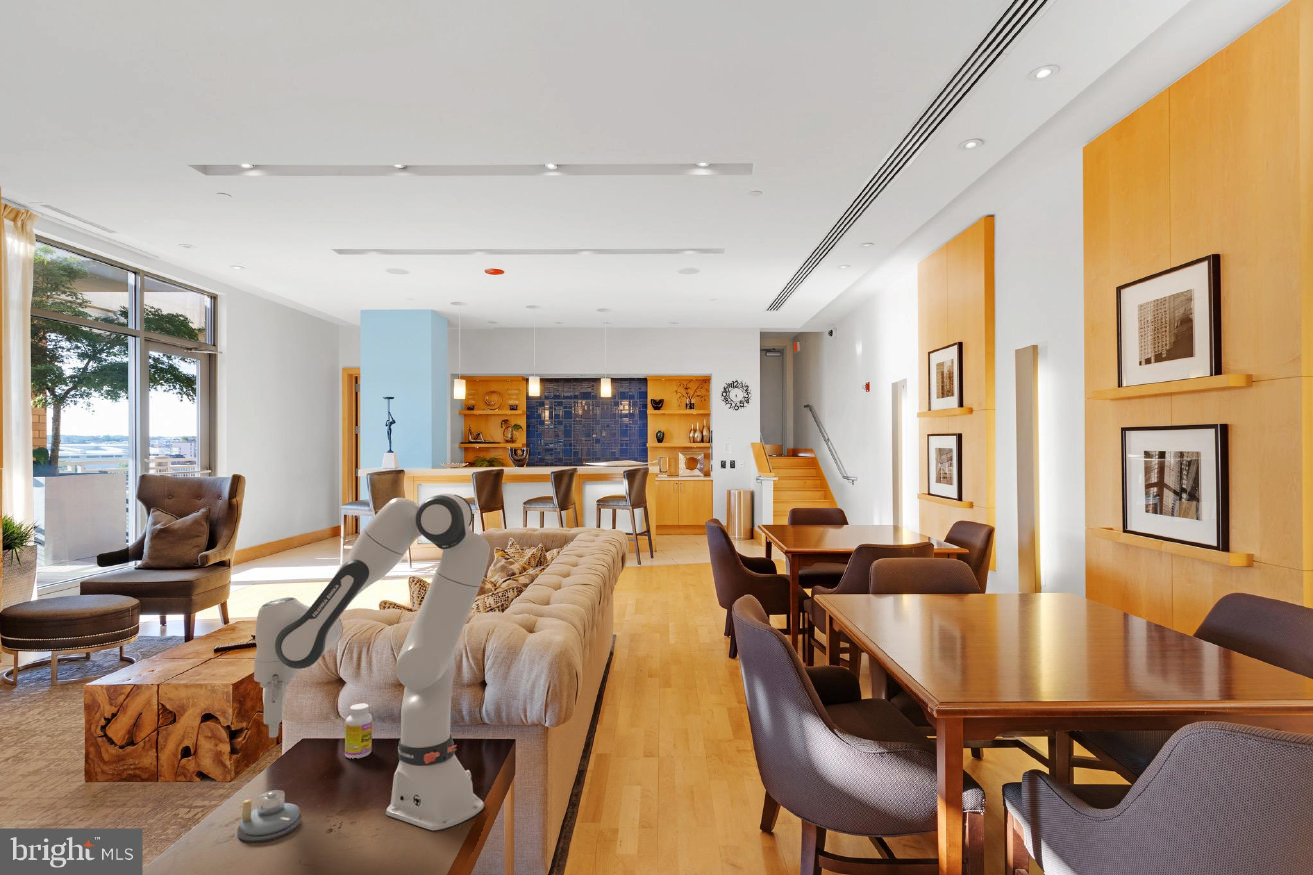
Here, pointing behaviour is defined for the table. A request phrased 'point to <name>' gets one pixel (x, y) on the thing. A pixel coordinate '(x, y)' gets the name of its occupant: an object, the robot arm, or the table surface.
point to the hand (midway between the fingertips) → (274, 730)
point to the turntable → (267, 820)
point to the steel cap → (271, 803)
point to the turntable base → (268, 837)
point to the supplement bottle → (358, 732)
